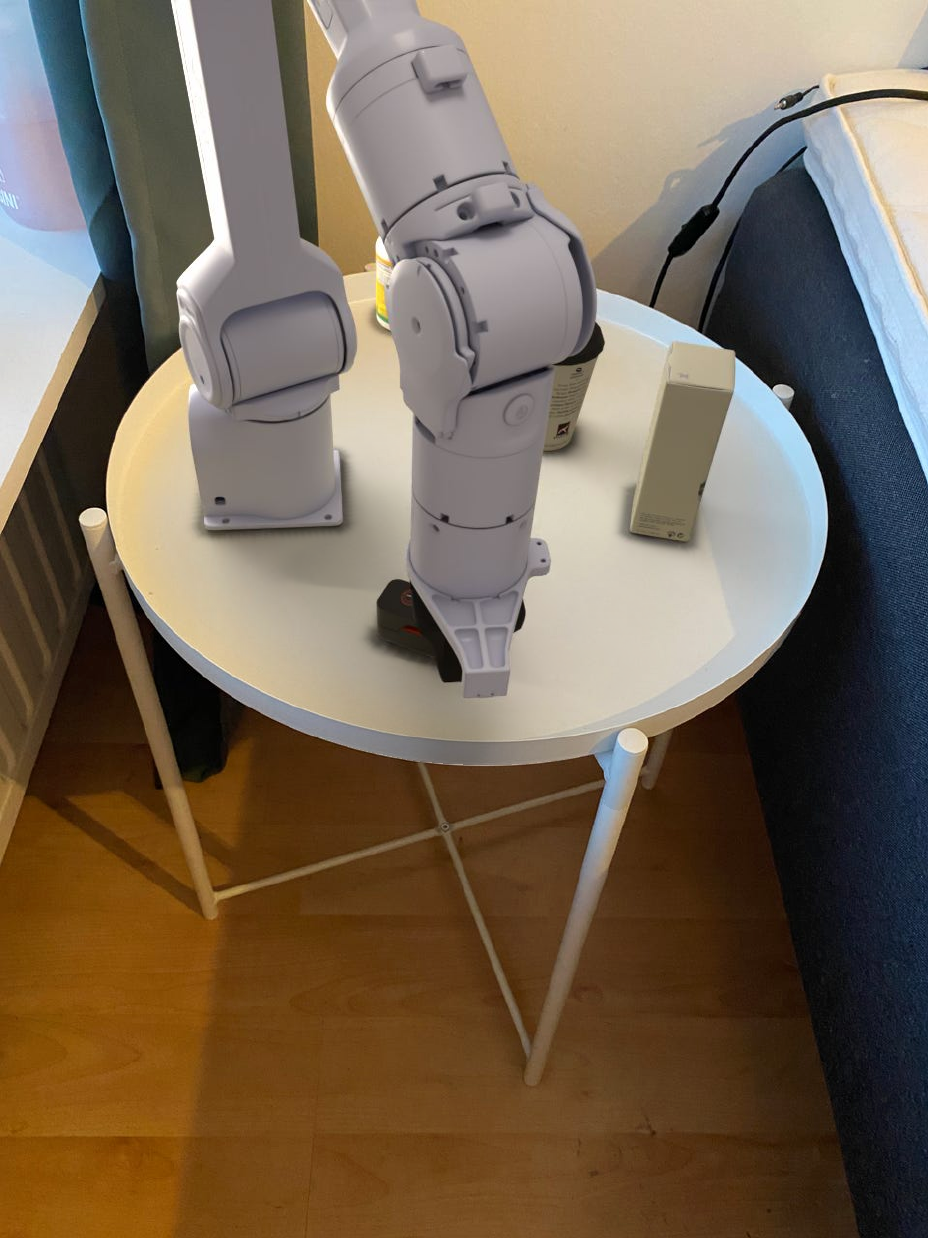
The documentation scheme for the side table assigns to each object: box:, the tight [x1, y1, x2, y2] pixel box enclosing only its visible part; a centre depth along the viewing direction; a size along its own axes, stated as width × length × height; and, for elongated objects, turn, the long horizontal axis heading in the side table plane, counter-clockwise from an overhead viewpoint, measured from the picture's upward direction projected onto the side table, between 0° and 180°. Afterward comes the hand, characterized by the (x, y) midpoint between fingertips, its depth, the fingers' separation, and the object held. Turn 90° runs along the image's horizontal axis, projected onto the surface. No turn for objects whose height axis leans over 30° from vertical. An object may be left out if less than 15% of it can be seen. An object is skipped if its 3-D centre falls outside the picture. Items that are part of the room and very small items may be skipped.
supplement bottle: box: [375, 235, 393, 332], centre depth 82 cm, size 5×5×10 cm
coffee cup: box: [543, 321, 606, 452], centre depth 73 cm, size 7×7×10 cm
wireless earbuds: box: [376, 578, 435, 659], centre depth 61 cm, size 5×7×3 cm, turn 67°
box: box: [629, 340, 736, 542], centre depth 66 cm, size 5×4×13 cm
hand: (459, 672), depth 54 cm, fingers closed
